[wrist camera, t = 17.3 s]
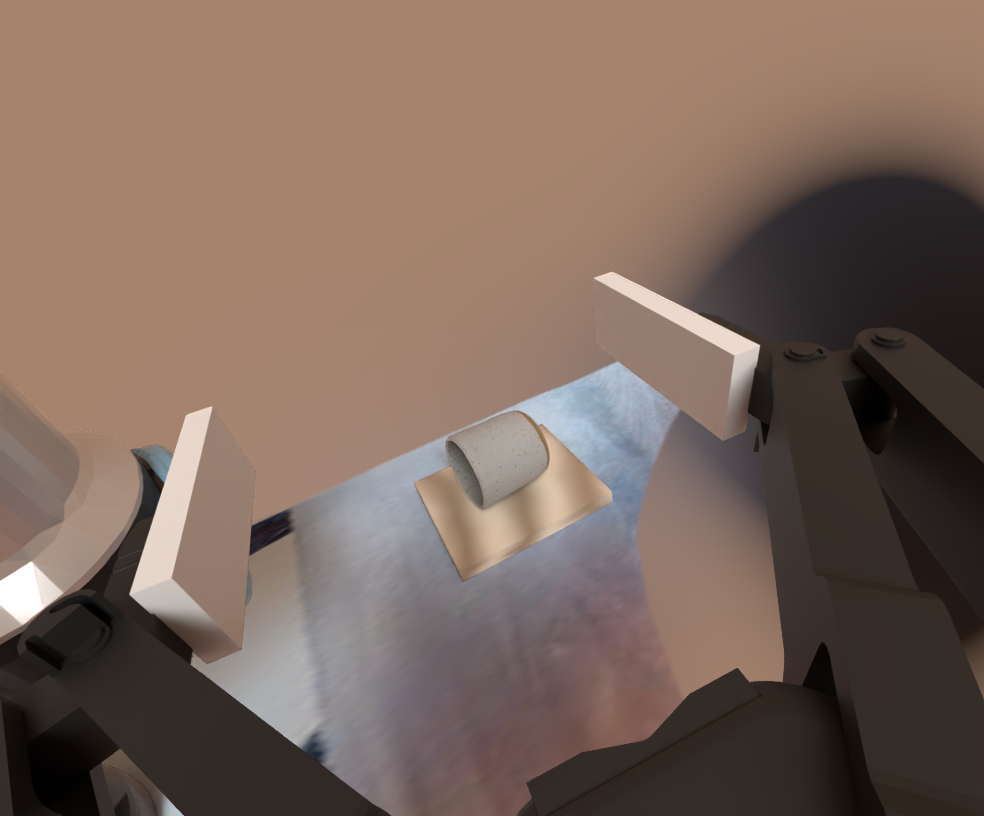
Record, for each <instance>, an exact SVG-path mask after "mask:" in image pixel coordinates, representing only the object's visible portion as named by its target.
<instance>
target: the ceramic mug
mask: <svg viewBox="0 0 984 816" xmlns="http://www.w3.org/2000/svg"><path fill="white" fill-rule="evenodd" d="M446 451H447V456H448V459H449V462H450V464H451V467H452V470H453V472H454V474H455V476H456V478H457V480H458V482H459V484H460V486H461V488H462V489H463V491H464V492H465V494H466V495H467V497H468V498H469V500H470V501H471V502H472V503H473V504H474V505H475V506H476V507H477V508H479V509H482V510H483V509H486V508H488V507H490V506H491V505H493V504H494V503H496V502H498V501H500V500H501V499H503V498H505V497H506V496H508V495H510V494H511V493H513V492H514V491H516V490H518V489H519V488H521V487H523V486H524V485H526V484H528V483H530V482H532V481H533V480H535V479H536V478H538V477H539V476H540V475H541V474H543V473H544V471H545V470H546V469H547V468H548V465H549V460H550V455H549V449H548V445H547V442H546V440H545V437H544V435H543V433H542V431H541V430H540V428H539V427H538V425H537V424H536V423H535V422H534V420H533V419H532V418H531V417H530V416H528V415H527V414H525V413H523V412H520V411H511V412H507V413H503V414H500V415H498V416H496V417H493V418H491V419H489V420H487V421H485V422H483V423H480V424H478V425H475V426H473V427H470V428H468V429H466V430H463V431H461V432H459V433H456V434H454V435H452V436H450V437H448V439H447V440H446Z"/></svg>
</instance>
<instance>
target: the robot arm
mask: <svg viewBox="0 0 984 816" xmlns="http://www.w3.org/2000/svg"><path fill="white" fill-rule="evenodd" d="M593 280H594V297H595V312H596V313H595V314H596V329H597V346H598V347H600V348H601V349H603V350H604V351H605V352H606V353H608V354H609V355H611V356H612V357H613V358H614V359H616V360H617V361H618V362H620V363H621V364H622V365H624V366H625V367H626V368H628V369H629V370H630V371H632V372H633V373H634V374H635V375H637V376H638V377H639V378H641V379H642V380H643V381H645V382H646V383H647V384H649V385H650V386H651V387H653V388H654V389H655V390H657V391H658V392H659V393H661V394H662V395H663V396H665V397H666V398H667V399H668V400H670V401H671V402H672V403H674V404H675V405H676V406H678V407H679V408H680V409H682V410H683V411H684V412H686V413H687V414H688V415H690V416H691V417H692V418H694V419H695V420H696V421H698V422H699V423H701V424H702V425H703V426H704V427H706V428H707V429H708V430H709V431H711V432H712V433H714V434H715V435H716V436H717V437H719V438H720V439H721V440H726V439H728V438H730V437H733V436H735V435H737V434H740V433H742V432H744V431H746V425H747V419H748V414H749V413H750V414H751V415H752V416H754V417H756V418H757V419H759V420H760V421H759V426H758V431H757V437H756V442H755V447H754V452H758V451H759V447H760V455H761V463H762V472H763V480H764V488H765V495H766V504H767V512H768V521H769V529H770V538H771V546H772V554H773V563H774V571H775V579H776V587H777V596H778V604H779V612H780V620H781V629H782V637H783V645H784V673H783V682H775V681H755V682H749V681H748V680H747V679H746V678H745V677H744V675H743V674H742V673H741V672H740V670H739V669H738V668H736V669H734V670H733V671H731V672H729V673H727V674H725V675H723V676H722V677H720V678H718V679H716V680H714V681H712V682H711V683H709V684H707V685H705V686H703V687H702V688H700V689H698V690H696V691H694V692H692V693H690V694H689V695H688V696H687V697H686V698H685V699H684V701H683V702H682V703H681V704H680V705H679V706H678V707H677V708H676V709H675V710H674V711H673V713H672V714H671V715H670V716H669V717H668V718H667V719H666V720H665V721H664V722H663V723H662V725H661V726H660V727H659V728H658V729H657V730H656V731H655V732H654V733H653V734H652V735H651V736H650V737H649V738H648V739H646V740H644V741H640V742H635V743H629V744H624V745H619V746H614V747H608V748H603V749H598V750H592V751H587V752H582V753H580V754H578V755H576V756H575V757H573V758H571V759H569V760H567V761H565V762H564V763H562V764H560V765H558V766H556V767H554V768H553V769H551V770H549V771H547V772H545V773H543V774H542V775H540V776H538V777H536V778H534V779H532V780H530V781H529V782H527V785H528V788H529V791H530V794H531V797H532V799H531V800H530V801H529V802H528V803H527V804H526V805H525V806H524V807H523V808H522V809H521V810H520V811H519V813H518V814H517V816H984V699H983V697H982V694H981V692H980V689H979V687H978V684H977V682H976V679H975V677H974V674H973V672H972V669H971V667H970V664H969V662H968V660H967V657H966V654H965V652H964V650H963V647H962V645H961V642H960V640H959V637H958V635H957V632H956V630H955V627H954V625H953V622H952V620H951V617H950V615H949V613H948V611H947V609H946V607H945V605H944V603H943V602H942V601H941V600H940V599H939V598H938V597H937V596H936V595H935V594H930V593H924V592H920V590H918V588H917V586H916V584H915V581H914V579H913V576H912V573H911V570H910V568H909V565H908V562H907V559H906V557H905V554H904V551H903V548H902V546H901V543H900V540H899V537H898V535H897V532H896V529H895V527H894V524H893V521H892V518H891V515H890V513H889V510H888V507H887V505H886V502H885V499H884V496H883V494H882V491H881V488H880V485H881V486H882V487H883V489H884V490H885V491H886V493H887V494H888V495H889V497H890V498H891V499H892V501H893V502H894V503H895V505H896V506H897V507H898V509H899V510H900V511H901V513H902V514H903V515H904V516H905V518H906V519H907V520H908V522H909V523H910V524H911V526H912V527H913V528H914V530H915V531H916V532H917V534H918V535H919V536H920V538H921V539H922V540H923V542H924V543H925V544H926V546H927V547H928V548H929V550H930V551H931V552H932V554H933V555H934V556H935V558H936V559H937V560H938V562H939V563H940V564H941V566H942V567H943V568H944V569H945V571H946V572H947V574H948V575H949V576H950V577H951V579H952V580H953V581H954V583H955V584H956V586H957V587H958V588H959V590H960V591H961V592H962V594H963V595H964V596H965V597H966V599H967V600H968V601H969V603H970V604H971V605H972V607H973V608H974V609H975V611H976V612H977V614H978V615H979V616H980V617H981V619H982V620H983V621H984V389H983V388H981V387H980V386H979V385H978V384H976V383H975V382H974V381H973V380H971V379H970V378H969V377H967V376H966V375H965V374H964V373H963V372H961V371H960V370H959V369H957V368H956V367H955V366H954V365H952V364H951V363H950V362H949V361H947V360H946V359H945V358H944V357H942V356H941V355H940V354H939V353H937V352H936V351H935V350H933V349H932V348H931V347H929V346H928V345H927V344H926V343H925V342H923V341H922V340H921V339H920V338H918V337H916V336H915V335H913V334H911V333H909V332H905V331H902V330H900V329H895V328H892V329H891V328H886V327H884V328H873V329H868V330H864V331H862V332H860V333H858V335H857V337H856V340H855V344H854V347H853V349H847V350H841V351H835V352H829V351H828V350H827V349H825V348H823V347H822V346H820V345H816V344H812V343H807V342H788V343H784V344H781V345H777V344H775V343H773V342H771V341H769V340H767V339H765V338H763V337H760V336H758V335H756V334H754V333H752V332H750V331H748V330H746V329H745V330H743V329H742V327H740V326H737V325H735V324H733V325H732V323H731V322H729V321H727V320H725V319H723V318H720V317H719V316H714V315H709V314H705V313H699V314H696V313H694V312H692V311H690V310H688V309H686V308H684V307H682V306H680V305H678V304H676V303H674V302H672V301H670V300H668V299H666V298H664V297H662V296H660V295H658V294H656V293H654V292H652V291H650V290H648V289H646V288H644V287H642V286H640V285H638V284H636V283H634V282H632V281H630V280H627V279H626V278H624V277H622V276H620V275H618V274H616V273H614V272H610V273H607V274H604V275H601V276H598V277H595V278H594V279H593ZM896 410H897V411H896ZM878 482H879V483H880V485H879V483H878ZM254 484H255V470H254V468H253V466H252V465H251V464H250V462H249V460H248V459H247V457H246V456H245V454H244V453H243V451H242V450H241V448H240V447H239V445H238V444H237V442H236V441H235V439H234V438H233V436H232V435H231V433H230V432H229V430H228V429H227V427H226V426H225V424H224V422H223V421H222V419H221V418H220V417H219V415H218V413H217V412H216V411H215V409H214V407H213V406H211V407H208V408H205V409H202V410H200V411H196V412H193V413H190V414H187V415H186V418H185V421H184V424H183V427H182V430H181V433H180V437H179V440H178V443H177V446H176V450H175V453H174V455H173V454H172V453H171V452H170V451H168V450H167V449H165V448H164V447H162V446H159V445H149V446H146V447H143V448H139V449H132V450H129V449H128V448H127V447H126V446H125V445H124V444H122V443H120V442H119V441H117V440H115V439H114V438H112V437H110V436H108V435H105V434H101V433H98V432H94V431H87V430H79V429H60V430H59V429H58V428H57V427H56V426H55V425H54V424H53V423H52V422H51V421H50V420H49V419H48V417H46V415H45V414H44V413H43V412H42V411H41V410H39V408H38V407H37V406H36V405H35V404H34V403H33V402H32V401H31V400H30V399H29V398H28V397H27V396H26V395H25V394H24V393H23V392H22V391H21V390H20V389H19V388H18V387H17V386H16V385H15V384H14V383H13V382H12V381H11V380H10V379H9V378H8V377H7V376H6V375H5V374H4V372H3V371H2V370H0V816H157V815H156V811H155V806H154V804H153V801H152V799H151V797H150V795H149V793H148V791H147V790H146V789H145V787H144V786H143V785H142V784H141V783H139V782H138V781H137V780H135V779H134V778H132V777H130V776H128V775H126V774H124V773H123V772H121V771H119V770H117V769H115V768H112V767H110V766H106V765H102V764H101V762H103V761H104V760H105V759H107V758H108V757H109V756H111V755H112V754H113V753H115V752H116V751H117V750H119V749H121V750H122V751H123V752H124V753H125V754H126V755H127V756H128V757H129V758H130V759H131V760H132V761H133V762H134V763H135V765H136V766H137V767H138V768H139V769H140V770H141V771H142V772H143V773H144V774H145V775H146V776H147V777H148V778H149V779H150V780H151V781H152V782H153V784H154V785H155V786H156V787H157V788H158V789H159V790H160V791H161V792H162V793H163V794H164V795H165V796H166V797H167V798H168V799H169V800H170V802H171V803H172V804H173V805H174V806H175V807H176V808H177V809H178V810H179V811H180V812H181V813H182V814H183V815H184V816H391V815H390V814H388V813H387V812H385V811H384V810H382V809H381V808H379V807H377V806H375V805H374V804H372V803H371V802H370V801H368V800H367V799H366V798H364V797H363V796H362V795H360V794H359V793H358V792H356V791H355V790H354V789H352V788H351V787H350V786H349V785H347V784H346V783H345V782H343V781H342V780H341V779H339V778H338V777H337V776H335V775H334V774H333V773H331V772H330V771H329V770H328V769H326V768H325V767H324V766H322V765H321V764H320V763H318V762H317V761H316V760H314V759H313V758H312V757H311V756H309V755H308V754H307V753H305V752H304V751H303V750H301V749H300V748H299V747H297V746H296V745H295V744H294V743H292V742H291V741H290V740H288V739H287V738H286V737H284V736H283V735H282V734H280V733H279V732H278V731H277V730H275V729H274V728H273V727H271V726H270V725H269V724H267V723H266V722H265V721H263V720H262V719H261V718H260V717H258V716H257V715H256V714H254V713H253V712H252V711H250V710H249V709H248V708H246V707H245V706H244V705H243V704H241V703H240V702H239V701H237V700H236V699H235V698H233V697H232V696H231V695H229V694H228V693H227V692H226V691H224V690H223V689H222V688H220V687H219V686H218V685H216V684H215V683H214V682H212V681H211V680H210V679H208V678H207V677H206V676H205V675H203V674H202V673H201V672H199V671H198V670H197V669H195V668H194V667H193V666H191V665H190V664H191V658H192V657H193V656H194V655H195V654H196V655H197V656H198V657H199V658H200V659H201V660H203V661H204V662H205V663H206V664H209V663H211V662H213V661H215V660H218V659H220V658H222V657H225V656H227V655H229V654H232V653H234V652H236V651H239V650H241V649H242V639H243V626H244V613H245V607H246V606H247V604H248V602H249V600H250V597H251V594H252V580H251V575H250V572H249V569H248V562H249V549H250V536H251V523H252V509H253V497H254Z"/></svg>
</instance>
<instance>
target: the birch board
mask: <svg viewBox="0 0 984 816" xmlns="http://www.w3.org/2000/svg"><path fill="white" fill-rule="evenodd" d="M538 427H539V428H540V430H541V431H542V433H543V435H544V437H545V440H546V442H547V445H548V449H549V455H550V460H549V465H548V468H547V469H546V470H545V471H544V473H543V474H541V475H540V476H539V477H538V478H536V479H535V480H533V481H532V482H530V483H528V484H526V485H524V486H523V487H521V488H519V489H518V490H516V491H514V492H513V493H511V494H510V495H508V496H506V497H505V498H503V499H501V500H500V501H498V502H496V503H494V504H493V505H491V506H490V507H488V508H486V509H483V510H482V509H479V508H477V507H476V506H475V505H474V504H473V503H472V502H471V501H470V500H469V498H468V497H467V495H466V494H465V492H464V491H463V489H462V488H461V486H460V484H459V482H458V480H457V478H456V476H455V474H454V472H453V470H452V467H451V466H449V467H447V468H445V469H443V470H441V471H439V472H436V473H434V474H432V475H430V476H428V477H426V478H423V479H421V480H419V481H417V482H415V483H414V484H415V486H416V489H417V491H418V493H419V495H420V497H421V499H422V501H423V503H424V505H425V507H426V509H427V511H428V513H429V515H430V517H431V519H432V521H433V523H434V525H435V527H436V529H437V531H438V533H439V535H440V537H441V539H442V541H443V543H444V545H445V547H446V549H447V551H448V553H449V555H450V557H451V559H452V561H453V563H454V565H455V567H456V569H457V571H458V573H459V575H460V577H461V579H462V581H463V582H464V581H466V580H468V579H470V578H471V577H473V576H475V575H477V574H479V573H481V572H483V571H484V570H486V569H488V568H490V567H492V566H494V565H496V564H498V563H499V562H501V561H503V560H505V559H507V558H509V557H511V556H513V555H514V554H516V553H518V552H520V551H522V550H524V549H526V548H527V547H529V546H531V545H533V544H535V543H537V542H539V541H541V540H542V539H544V538H546V537H548V536H550V535H552V534H554V533H556V532H557V531H559V530H561V529H563V528H565V527H567V526H569V525H570V524H572V523H574V522H576V521H578V520H580V519H582V518H584V517H585V516H587V515H589V514H591V513H593V512H595V511H597V510H599V509H600V508H602V507H604V506H606V505H608V504H610V503H612V491H611V490H610V489H609V488H608V487H607V486H606V485H605V484H604V483H602V482H601V481H600V480H599V479H598V478H597V477H596V476H595V475H594V474H593V473H592V472H591V471H590V470H589V469H588V468H587V467H586V466H585V465H584V464H583V463H582V462H581V461H580V460H579V459H578V458H577V457H576V456H575V455H574V454H573V453H572V452H571V451H570V450H569V449H568V448H567V447H565V446H564V445H563V444H562V443H561V442H560V441H559V440H558V439H557V438H556V437H555V436H554V435H553V434H552V433H551V432H550V431H549V430H548V429H547V428H546V427H545V426H544V425H543V424H540V425H538Z"/></svg>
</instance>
